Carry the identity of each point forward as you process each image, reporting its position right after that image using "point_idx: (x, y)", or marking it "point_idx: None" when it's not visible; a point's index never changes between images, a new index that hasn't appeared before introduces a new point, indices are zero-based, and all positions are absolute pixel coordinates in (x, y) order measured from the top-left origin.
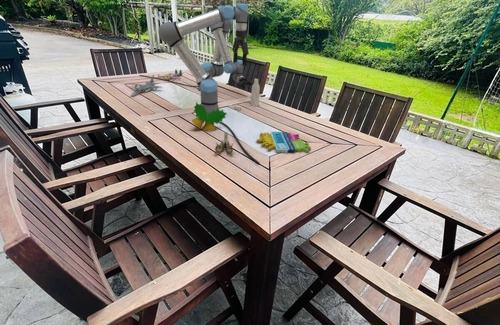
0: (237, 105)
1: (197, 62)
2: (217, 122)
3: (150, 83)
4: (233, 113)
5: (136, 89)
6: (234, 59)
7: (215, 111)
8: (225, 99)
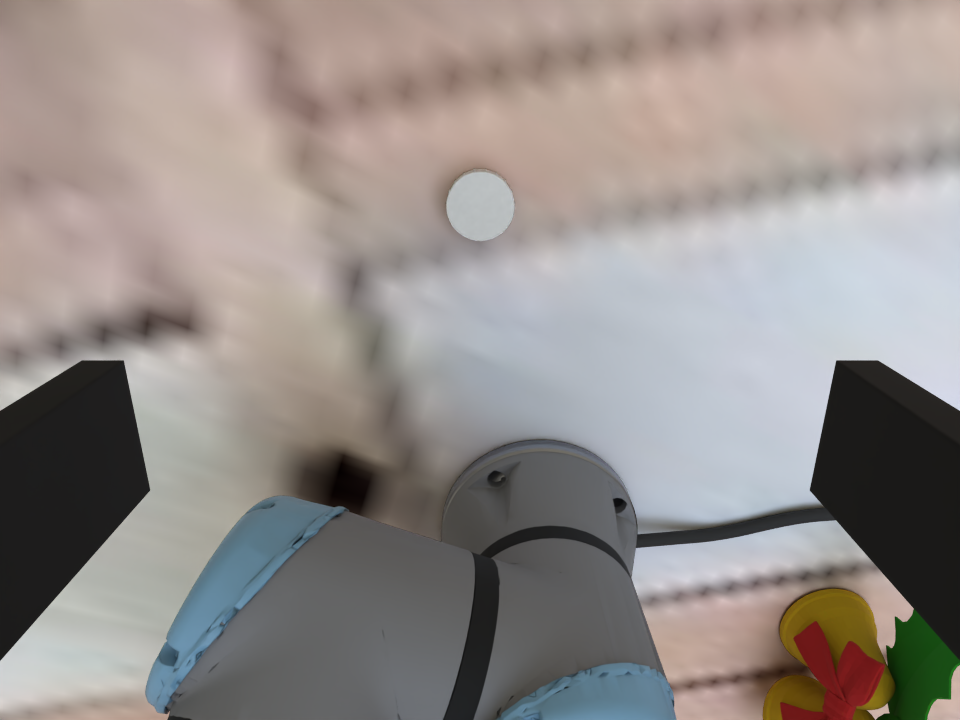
0: (448, 196)
1: None
2: (903, 623)
3: None
4: (590, 312)
5: None
6: (97, 527)
7: (931, 700)
8: (66, 169)
